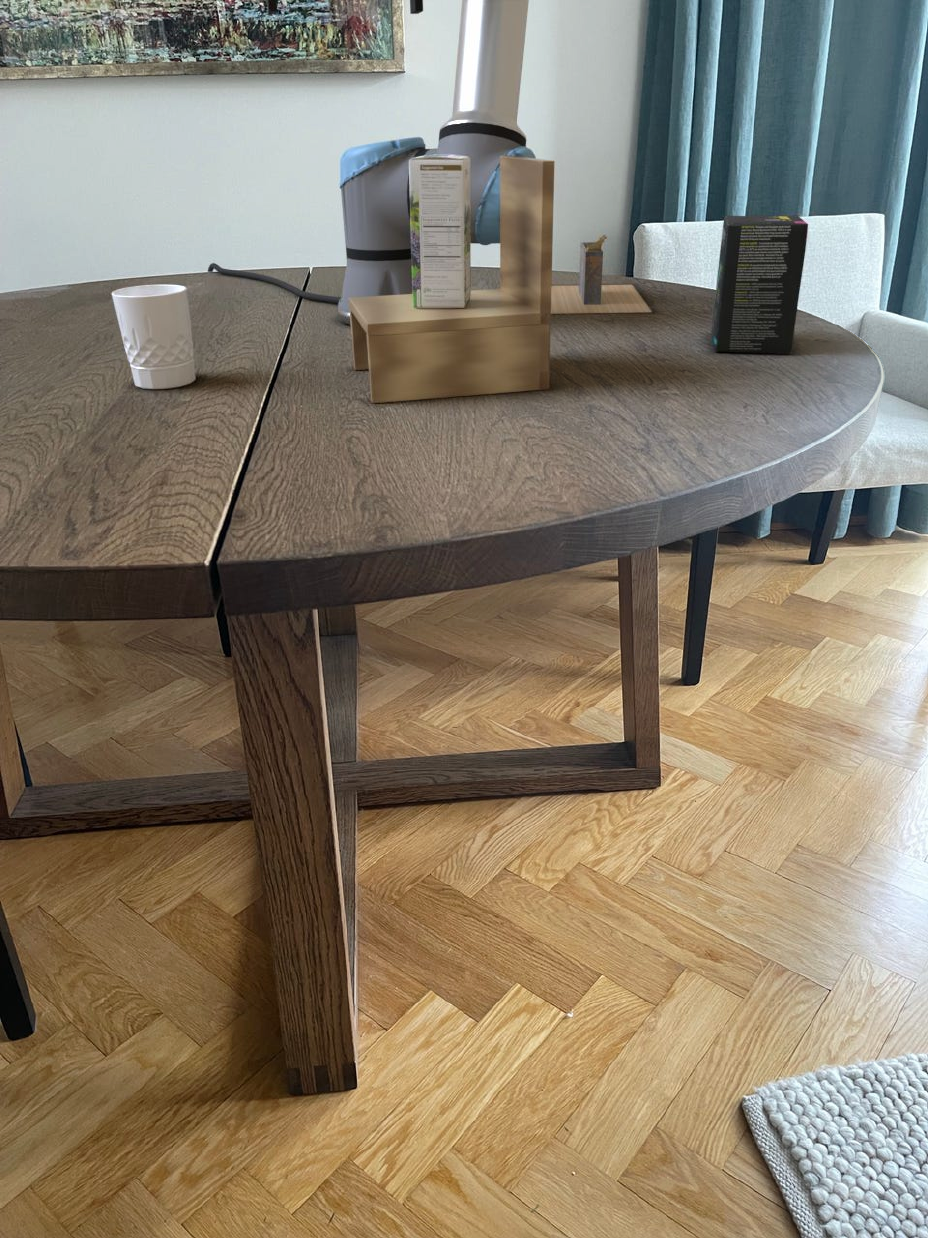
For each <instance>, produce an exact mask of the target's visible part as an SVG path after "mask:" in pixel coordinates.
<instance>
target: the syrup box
mask: <svg viewBox="0 0 928 1238" xmlns="http://www.w3.org/2000/svg"><path fill="white" fill-rule="evenodd" d="M409 186H410V227H411V262H412V297H413V307H414V308H465V307H466V305H467V303H468V301H469V300H470V296H471V292H470V291H471V290H472V289H471V288H472V287H471V286H472V285H471V284H472V283H471V282H472V281H471V278H472V277H471V272H472V270H471V269H472V266H471V244H472V243H470V241H471V223H470V222H471V215H470V158H469V157H467V156H460V155H450V154H434V155H425V156H419V157H415V158H411V159H410V160H409Z"/></svg>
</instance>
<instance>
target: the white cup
mask: <svg viewBox="0 0 928 1238" xmlns="http://www.w3.org/2000/svg"><path fill="white" fill-rule="evenodd" d="M111 298H112V302H113V307H114V310H115V315H116V318H117V319H116V320H117V322H118V327H119V331H120V335H121V340H122V344H123V347H124V350H125V353H126V359H127V361H128V362H129V366H130V370H131V374H132V378H133V382H134V383H133V384H134V386H135V387H138V388H140V389H143V390H144V389H146V390H165V389H168V390H169V389H174V388H175V389H176V388H181V387H184V386H187V385H190V384H192V383H194V382H195V381H196V371H195V361H194V355H195V354H194V353H195V351H194V343H193V342H194V341H193V340H194V339H193V333H192V332H193V331H192V330H193V329H192V320H191V312H190V303H189V294H188V288H187V287H186V286H184V285H179V284H144V285H133V286H127V287H122V288H117V289H116V290H113V291H112V292H111Z"/></svg>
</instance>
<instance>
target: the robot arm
mask: <svg viewBox="0 0 928 1238" xmlns="http://www.w3.org/2000/svg"><path fill="white" fill-rule="evenodd" d="M277 1H278V0H266V9H267V15H277V13H278V2H277ZM529 2H530V0H461V10H460V23H459V34H458V44H457V45H458V46H457V55H456V56H457V57H456V68H455V78H454V79H455V80H454V92H453V103H452V115H451V117H450V118H449V119H448V120H447V121H446V122H444V124H442V125H441V127H440V128H439V132H438V133H439V134H438V142H437V143H438V144H437V148H426V146H427V145H426V144H425V140H424V139H423V137H421V136H414V137H412V136H411V137H405V138H399V139H391V140H386V141H385V140H384V141H377V142H372V143H367V144H361V145H358V146H357V145H356V146H353V147H352V146H351V147H350V148H347V149H346V150H344V152H343V153H342V154H341V157H340V162H339V170H340V171H339V173H340V174H339V176H340V177H339V181H340V182H339V189H340V193H341V206H342V218H343V229H344V230H343V231H344V242H345V253H346V255H345V256H346V268H345V273H344V279H343V285H342V291H341V296H332V295H325V294H317V293H313V292H308V291H304V290H302V289H300V288H298V287H296V286H294V285H293V284H290V283H288V282H286V281H283V280H281V279H278V278H276V277H272V276H269V275H265V274H261V273H255V272H249V271H244V270H237V269H228V268H223V267H221V266H220V265H219V264H217V263H215V262H211V263H210V264H209V266H208V268H207V272H209V273H213V272H214V270H215V271H216V272H218V273H219V274H223V275H227V276H234V277H242V278H249V279H253V280H258V281H262V282H267V283H270V284H274V285H276V286H279V287H281V288H283V289H285V290H287V291H289V292H291V293H294V294H295V295H297V296H298V297H301V298H304V299H308V300H312V301H317V302H323V303H331V304H337V317H338V320H339V322H341V323H342V324H345V325H349V326H351V324H350V311H349V309H350V308H349V298H353V297H370V296H387V295H404V294H412V262H411V227H410V186H409V160H410V159H411V158H415V157H419V156H425V155H434V154H450V155H460V156H467V157H469V158H470V215H471V222H470V223H471V241H470V243H471V244H475V245H476V244H479V245H481V246H489V245H491V244H493V245H494V244H495V245H496V244H500V156H518V157H526V158H534V159H537V157H536V154H535V153H534V151H533V150H532V149H530V148H528V147H527V135H526V134H525V133H524V131H523V130H522V129H521V128H520V127H519V125H518V113H519V102H520V93H521V84H522V83H521V82H522V74H523V62H524V52H525V42H526V33H527V32H526V31H527V22H528V12H529ZM409 7H410V8H409V10H410V11H409V12H410V15H418V14H420V13H422V12H424V0H409Z"/></svg>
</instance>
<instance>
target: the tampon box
mask: <svg viewBox="0 0 928 1238" xmlns="http://www.w3.org/2000/svg"><path fill="white" fill-rule="evenodd" d="M722 224H723V225H722V232H721V241H720V250H719V260H718V268H717V277H716V286H715V295H714V296H715V297H714V306H713V312H712V313H713V314H712V324H711V331H710V336H711V337H710V338H711V342H712V347H713V350H714V352H715V353H724V352H726V353H729V352H730V353H751V354H781V355H782V354H792V353H793V348H794V347H793V346H794V338H795V329H796V328H795V327H796V320H797V313H798V305H799V299H800V291H801V285H802V278H803V271H804V263H805V256H806V249H807V242H808V233H809V232H808V231H809V224H808V223H807V222H806V221H805V220H804V219H803V218H802V217H800V216H799V215H761V214H760V215H724V217H723V223H722Z"/></svg>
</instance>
